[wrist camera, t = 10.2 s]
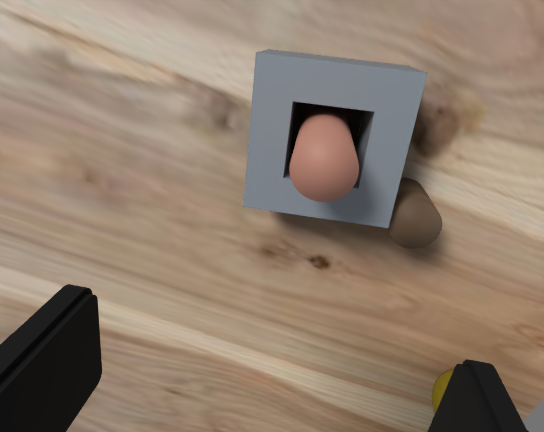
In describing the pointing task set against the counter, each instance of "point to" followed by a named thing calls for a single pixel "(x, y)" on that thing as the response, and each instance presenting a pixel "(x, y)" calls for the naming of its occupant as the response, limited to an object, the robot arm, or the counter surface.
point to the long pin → (324, 155)
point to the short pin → (413, 216)
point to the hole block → (339, 93)
